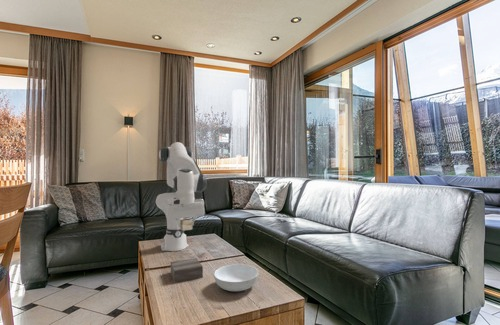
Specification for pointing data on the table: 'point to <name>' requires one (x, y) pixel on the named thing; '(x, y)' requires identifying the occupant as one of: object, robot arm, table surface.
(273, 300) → the table surface
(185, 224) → the birch cube
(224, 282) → the serving bowl
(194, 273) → the charcoal riser block
